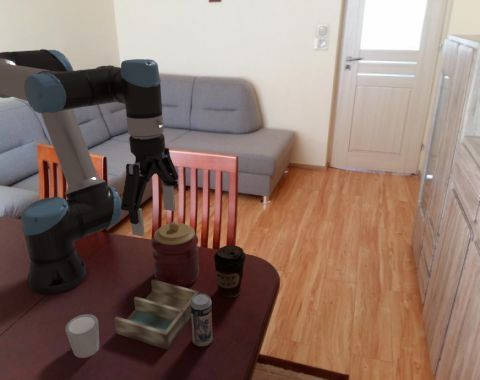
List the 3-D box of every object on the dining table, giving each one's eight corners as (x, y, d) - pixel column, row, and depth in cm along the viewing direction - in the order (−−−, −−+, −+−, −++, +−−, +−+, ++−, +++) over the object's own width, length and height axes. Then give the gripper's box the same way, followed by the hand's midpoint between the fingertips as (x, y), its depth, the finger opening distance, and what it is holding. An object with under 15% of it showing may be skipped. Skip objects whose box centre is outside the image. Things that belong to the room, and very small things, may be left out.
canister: (206, 267, 121) (204, 215, 114) (189, 293, 110) (186, 237, 102) (166, 260, 124) (162, 209, 117) (146, 284, 113) (140, 230, 106)
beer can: (196, 350, 91) (194, 308, 86) (189, 336, 95) (186, 296, 90) (215, 343, 93) (215, 302, 88) (207, 330, 97) (206, 289, 92)
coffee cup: (241, 303, 106) (241, 262, 100) (210, 299, 107) (209, 258, 102) (247, 283, 114) (248, 244, 108) (219, 280, 115) (218, 241, 110)
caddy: (116, 333, 96) (114, 318, 94) (154, 292, 110) (152, 279, 108) (167, 350, 91) (166, 334, 89) (199, 305, 105) (199, 291, 103)
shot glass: (75, 338, 94) (70, 314, 91) (105, 336, 95) (101, 313, 92) (66, 361, 88) (60, 336, 85) (98, 359, 88) (93, 335, 86)
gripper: (126, 152, 75) (138, 250, 83) (188, 123, 96) (193, 203, 105) (93, 148, 77) (108, 243, 86) (161, 120, 99) (168, 198, 107)
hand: (155, 221), depth 95 cm, fingers open, 13 cm apart
